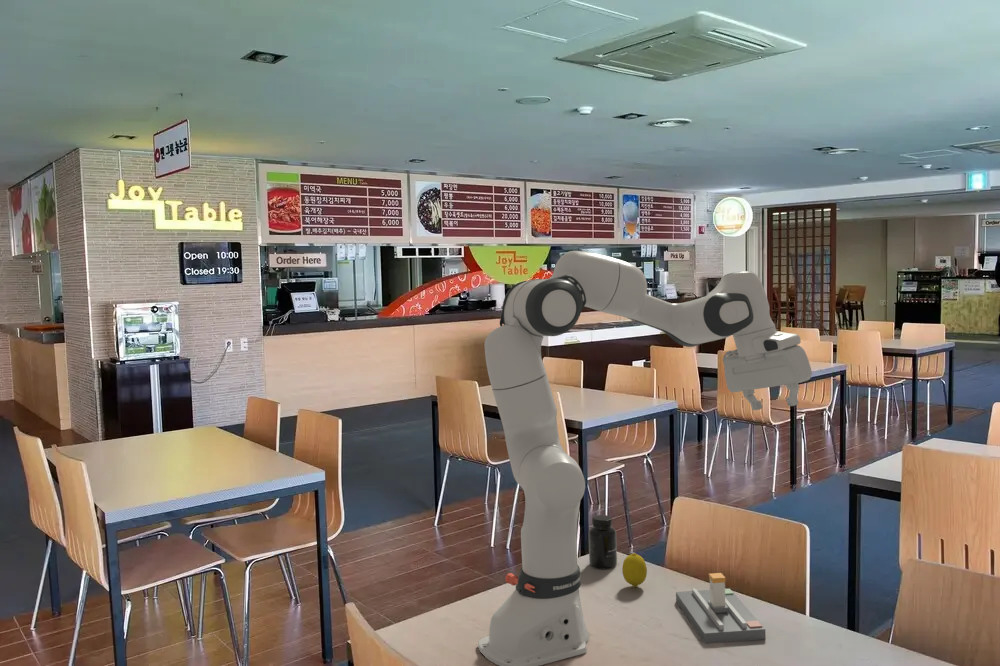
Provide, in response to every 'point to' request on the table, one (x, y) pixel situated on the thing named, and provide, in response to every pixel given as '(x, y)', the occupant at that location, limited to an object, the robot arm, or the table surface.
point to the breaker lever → (717, 593)
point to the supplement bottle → (602, 543)
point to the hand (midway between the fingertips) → (775, 407)
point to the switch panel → (719, 618)
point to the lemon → (634, 569)
